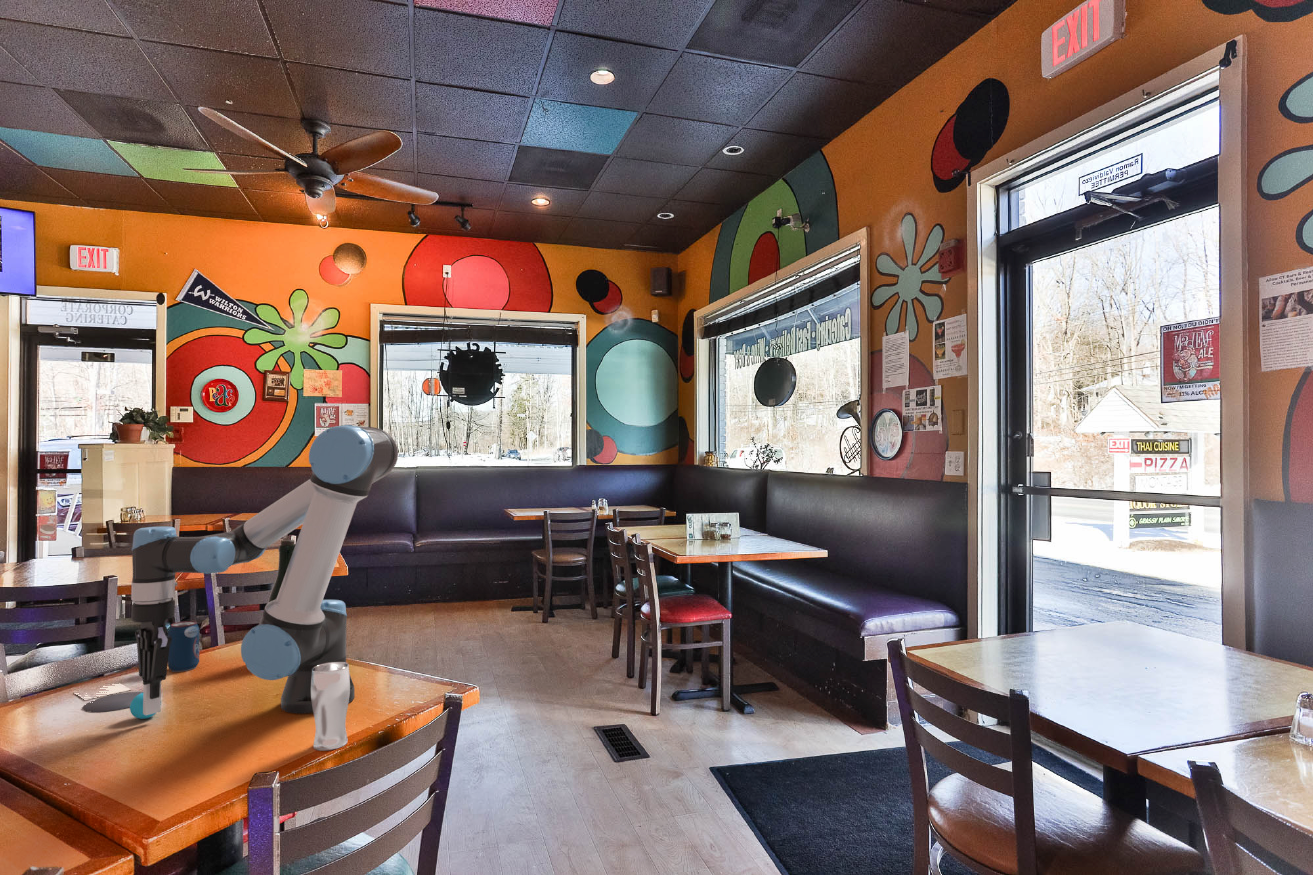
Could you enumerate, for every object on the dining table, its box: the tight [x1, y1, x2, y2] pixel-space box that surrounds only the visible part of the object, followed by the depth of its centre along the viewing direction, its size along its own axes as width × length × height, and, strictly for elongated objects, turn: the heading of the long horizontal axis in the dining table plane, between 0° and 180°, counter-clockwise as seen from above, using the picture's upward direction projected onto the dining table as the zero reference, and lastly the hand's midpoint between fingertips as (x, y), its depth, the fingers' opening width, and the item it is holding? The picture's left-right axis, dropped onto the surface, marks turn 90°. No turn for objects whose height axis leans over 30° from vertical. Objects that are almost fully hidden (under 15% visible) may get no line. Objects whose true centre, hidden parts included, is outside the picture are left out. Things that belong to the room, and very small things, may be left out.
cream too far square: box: [73, 682, 132, 701], centre depth 171 cm, size 9×9×1 cm
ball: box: [129, 693, 157, 720], centre depth 154 cm, size 6×6×6 cm
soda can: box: [167, 620, 200, 673], centre depth 190 cm, size 7×7×12 cm
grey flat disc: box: [82, 691, 143, 713], centre depth 164 cm, size 13×13×1 cm
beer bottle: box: [267, 539, 296, 604], centre depth 197 cm, size 10×10×33 cm
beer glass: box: [311, 662, 351, 752], centre depth 139 cm, size 7×7×15 cm
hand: (151, 712), depth 151 cm, fingers closed
